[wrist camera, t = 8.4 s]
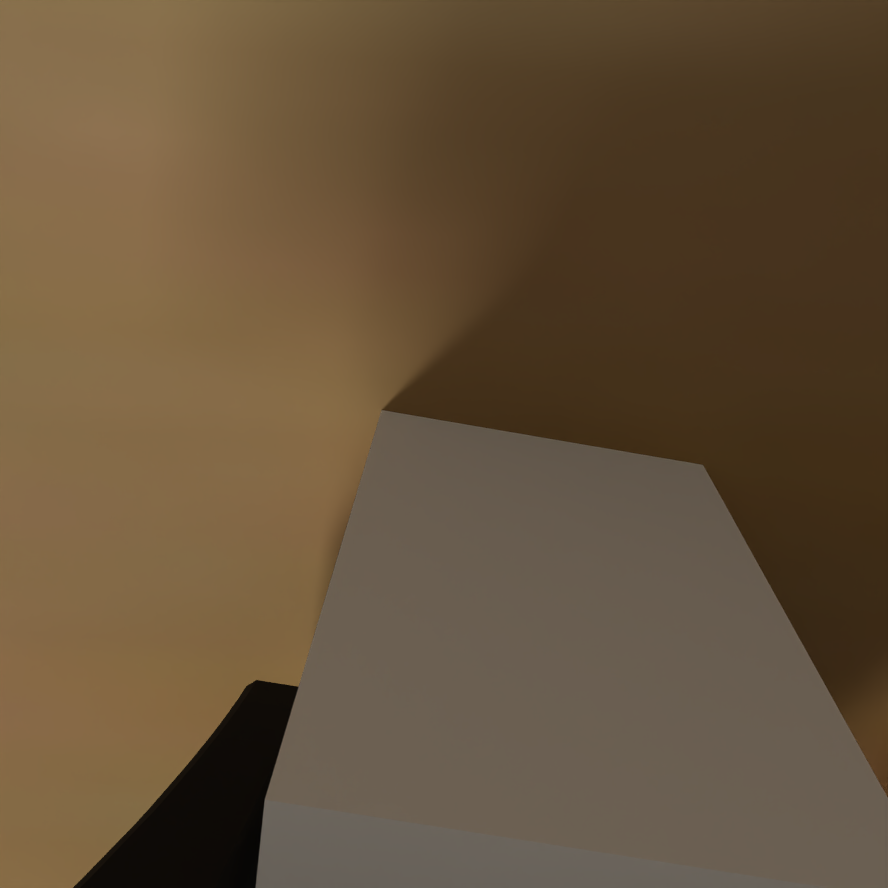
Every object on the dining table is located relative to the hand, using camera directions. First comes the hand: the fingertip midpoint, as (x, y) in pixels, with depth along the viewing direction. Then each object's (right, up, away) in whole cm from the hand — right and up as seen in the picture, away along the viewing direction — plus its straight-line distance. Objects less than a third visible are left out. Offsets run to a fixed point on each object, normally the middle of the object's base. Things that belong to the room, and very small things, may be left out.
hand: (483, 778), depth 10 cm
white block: (0, +1, +2) cm, 2 cm away
